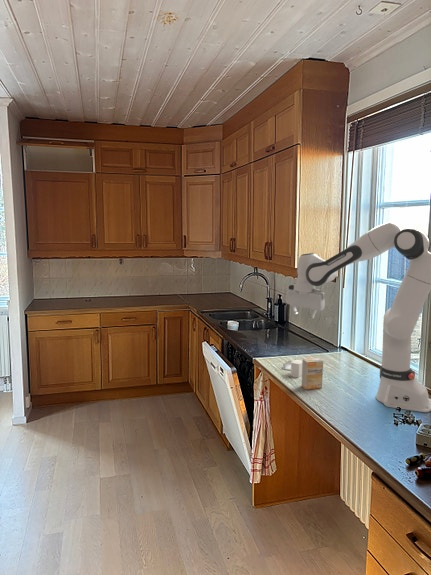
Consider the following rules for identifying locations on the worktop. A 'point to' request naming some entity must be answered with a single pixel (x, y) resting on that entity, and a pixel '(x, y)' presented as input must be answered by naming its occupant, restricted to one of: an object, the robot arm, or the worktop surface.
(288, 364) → the rail plate
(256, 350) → the worktop surface
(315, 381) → the supplement box
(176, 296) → the worktop surface
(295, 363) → the block
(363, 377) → the worktop surface
